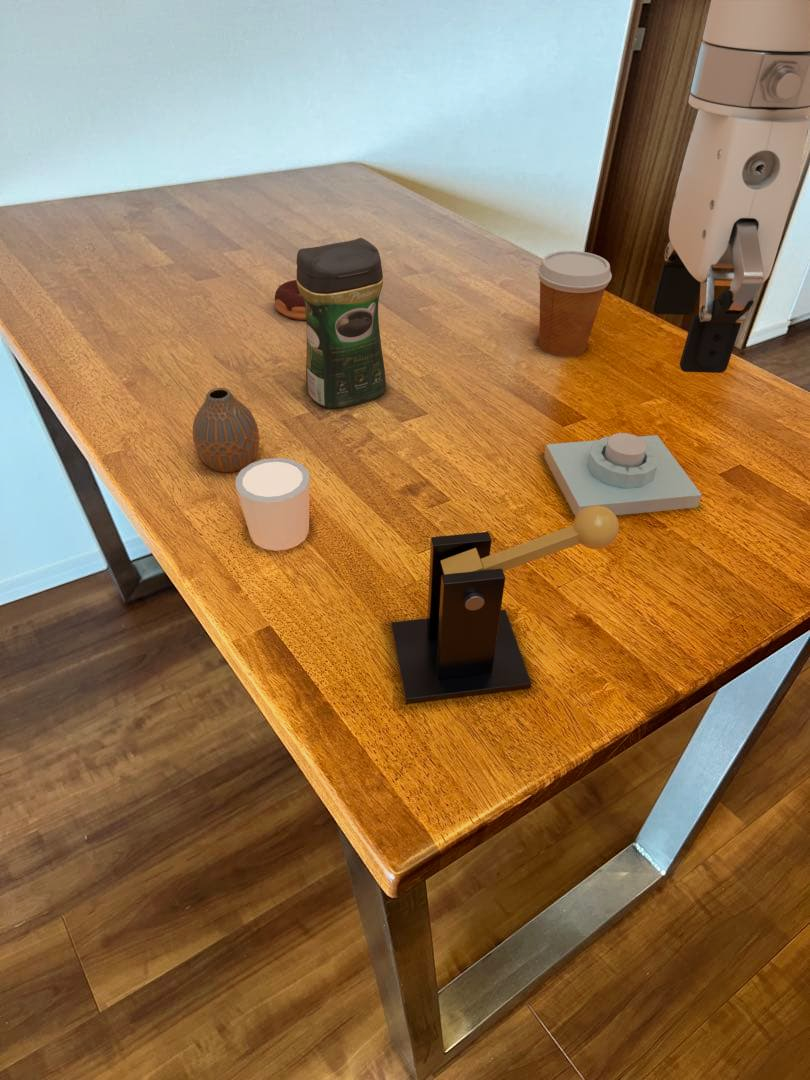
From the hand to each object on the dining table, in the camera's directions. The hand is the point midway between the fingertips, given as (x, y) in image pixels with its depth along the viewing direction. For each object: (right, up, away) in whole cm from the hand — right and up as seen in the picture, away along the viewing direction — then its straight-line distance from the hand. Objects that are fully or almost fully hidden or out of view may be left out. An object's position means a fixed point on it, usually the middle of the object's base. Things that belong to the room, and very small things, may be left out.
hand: (685, 339), depth 56 cm
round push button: (+1, -7, +20) cm, 21 cm away
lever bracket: (-17, -25, +4) cm, 31 cm away
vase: (-41, -7, +25) cm, 48 cm away
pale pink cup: (-34, -15, +16) cm, 40 cm away
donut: (-36, +19, +54) cm, 68 cm away
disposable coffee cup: (0, +11, +46) cm, 47 cm away
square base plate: (+1, -9, +22) cm, 24 cm away
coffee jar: (-29, +3, +36) cm, 46 cm away
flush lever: (-12, -17, -2) cm, 21 cm away
